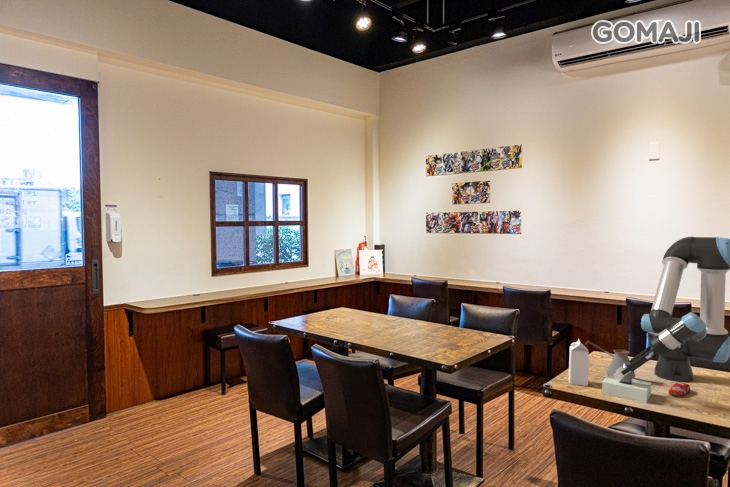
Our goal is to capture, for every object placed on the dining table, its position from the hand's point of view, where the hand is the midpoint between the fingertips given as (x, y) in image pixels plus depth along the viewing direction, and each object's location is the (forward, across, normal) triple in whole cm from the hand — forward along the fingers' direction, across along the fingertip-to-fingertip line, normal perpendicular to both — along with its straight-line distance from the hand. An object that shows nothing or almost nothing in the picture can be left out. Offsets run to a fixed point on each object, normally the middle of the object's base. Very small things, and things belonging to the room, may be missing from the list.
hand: (616, 375), depth 198 cm
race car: (-10, +15, -21) cm, 27 cm away
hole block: (+2, 0, -8) cm, 8 cm away
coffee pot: (+9, +20, -1) cm, 22 cm away
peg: (+2, 0, -8) cm, 8 cm away
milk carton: (+16, +3, +6) cm, 17 cm away
